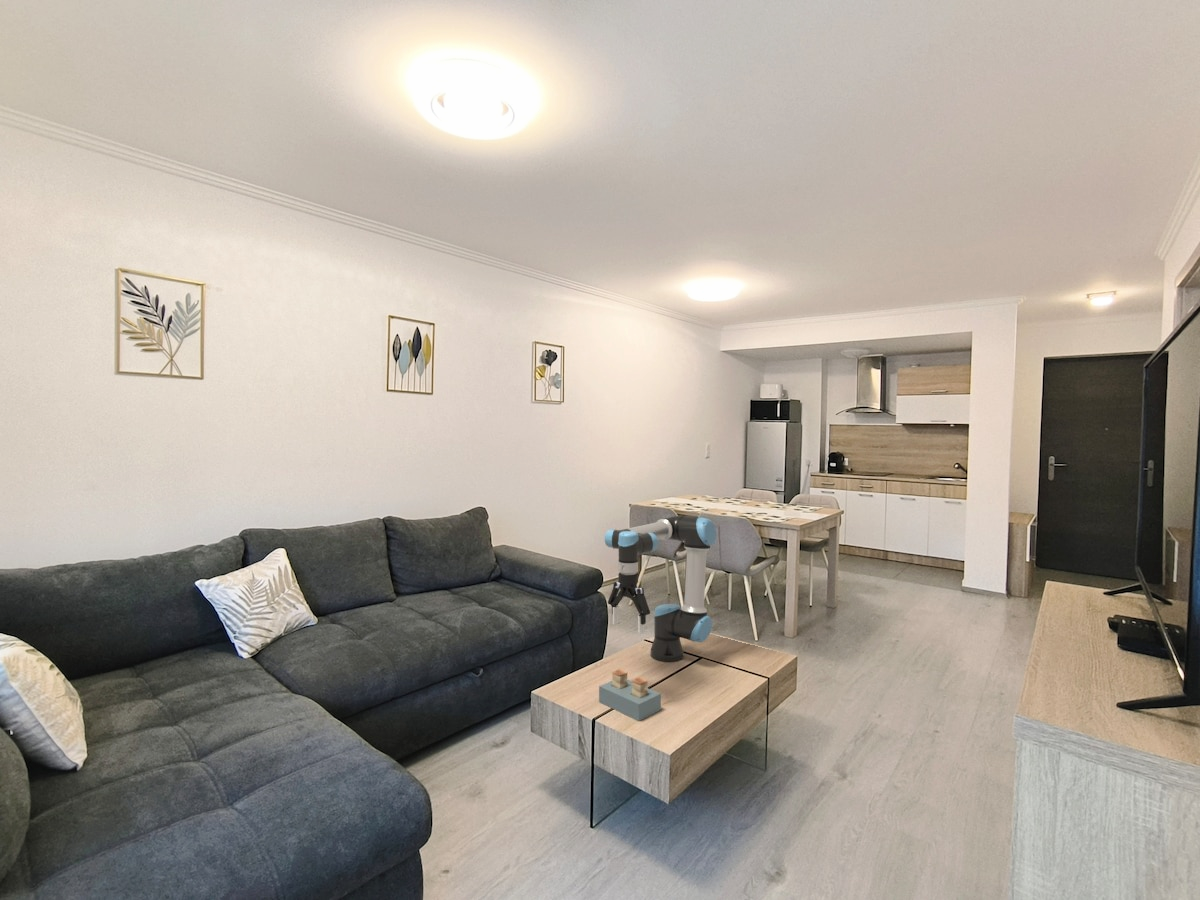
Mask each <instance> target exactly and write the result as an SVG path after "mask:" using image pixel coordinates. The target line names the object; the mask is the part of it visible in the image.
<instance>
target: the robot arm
mask: <svg viewBox="0 0 1200 900" xmlns="http://www.w3.org/2000/svg"><path fill="white" fill-rule="evenodd" d="M716 538H717V529H716V526H715V524H714V522H713V521H712V520H711V519H709V518H706V517H703V516H702V517H701V516H690V515H689V516H688V515H674V516H669V517H665V518H660V519H658V520H657V521H656V522H651V523H648V524H643V525H639V526H634V527H629V528H625V529H609V530H607V531H606V533H605V534H604V543H605V545H606V546H607V547H608V548H612V549H614V550H615V549H617V550H618V572H619V573H618V581H616V582H613V586H612V590H611V593H610V594H609V598H608V600H607V604H608V605H610V607H611V614H612V625H617V624H620V606H619V604H620V602H621V601H622V600H623V599H624V597H625V598H627V599H630V600H631V601H632V603H633V604H634V607H635V608H636V610H637V612H638V614H639V615H637V628H638V629H637V633H638V634H642V633H645V631H646V630H645V627H646V626H645V625H646V623H647V620H646V619H647V618H646V617H647V616H648V615H650V614H651V611H650V608H649V605H648V601H647V599H646V596H645V591H644V588H643V587H640V588H639V587H638V583H639V573H638V572H639V556H640V555H643V554H649V553H652V552H654V551H656V550H657V549H658V546H659V540H661V541H668V540H671V541H672V540H673V541H679V542H683V547H684V550H686V564H685V565H686V566H685V583H684V584H685V585H684V587H685V588H684V604H683V605H682V606H680V605H679V604H678V603H665V604H660V605H658V606H656V607H655V609H654V615H653V616H654V619H653V620H654V624H653V625H654V628H653V629H654V635H653V636H654V639H653V642H652V644H651V647H650V657H651V658H652V659H654V660H656V661H660V662H666V663H667V662H668V663H669V662H672V663H673V662H678V661H680V660H682V659H684V657H685V656H684V654H685V653H684V652H685V651H684V649H683V645H682V641H681V639H685V640H688V641H691V642H697V643H703V642H705V641H706V640H707V639H708V637H709V636H710V634H711V632H712V629H713V621H712V618H711V617H710V616H708V609H707V608H706V607H705V591H706V590H705V589H706V573H707V572H706V569H707V554H708V553H707V552H708V551H709V550H710V549H711V546H712V545H714V544H715V542H716V540H717V539H716Z"/></svg>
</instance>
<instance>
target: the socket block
mask: <svg viewBox="0 0 1200 900" xmlns="http://www.w3.org/2000/svg"><path fill="white" fill-rule="evenodd" d="M598 703H600V704H602V705H605V706H607V707H608V708H610V709H613V710H615V711H616V712H618V713H621V714H624V716H627V717H628V718H631V719H633V720H635V721H637V722H640V721H642V720H644V719H646V718H648V717H651V716H652V715H654V714H655V713H657V712H660V711H661V710H662V693H660V692H658V691H656V690H654V689H650V688H648V690H647V696H645V697H642V698H638V697H636V696H633V695H632V680H630V679H627V687H625V688H623V689H618V688H615V687H613V686H612V680H611V681H608V682H606V683H603V684H601V685H599V686H598Z"/></svg>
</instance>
